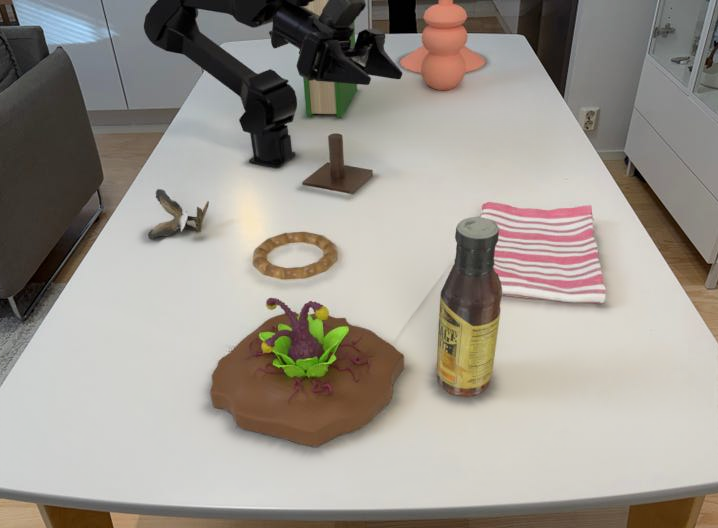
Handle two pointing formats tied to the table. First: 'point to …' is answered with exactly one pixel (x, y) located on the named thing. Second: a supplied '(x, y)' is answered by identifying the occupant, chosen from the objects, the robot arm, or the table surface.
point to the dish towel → (547, 253)
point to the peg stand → (338, 171)
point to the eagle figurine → (176, 217)
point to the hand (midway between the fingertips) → (385, 78)
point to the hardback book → (327, 84)
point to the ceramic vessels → (443, 48)
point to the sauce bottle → (470, 311)
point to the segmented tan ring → (295, 272)
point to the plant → (306, 376)
